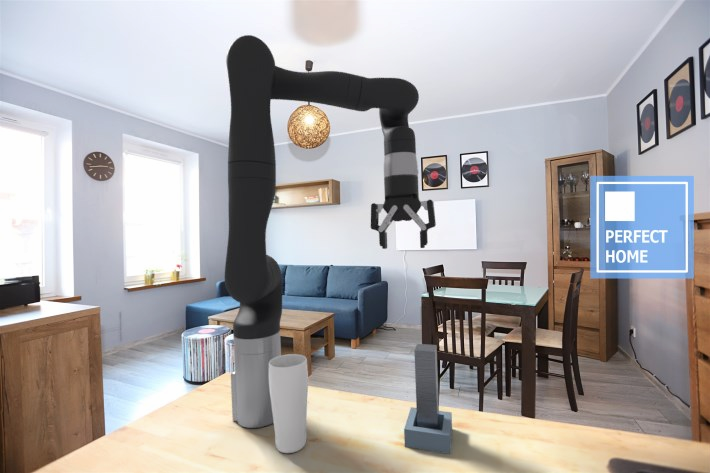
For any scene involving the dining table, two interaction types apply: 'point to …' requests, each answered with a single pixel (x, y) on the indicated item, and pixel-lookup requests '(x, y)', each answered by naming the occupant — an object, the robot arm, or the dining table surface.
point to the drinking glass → (289, 400)
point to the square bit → (427, 386)
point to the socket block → (429, 433)
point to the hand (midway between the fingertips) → (403, 248)
